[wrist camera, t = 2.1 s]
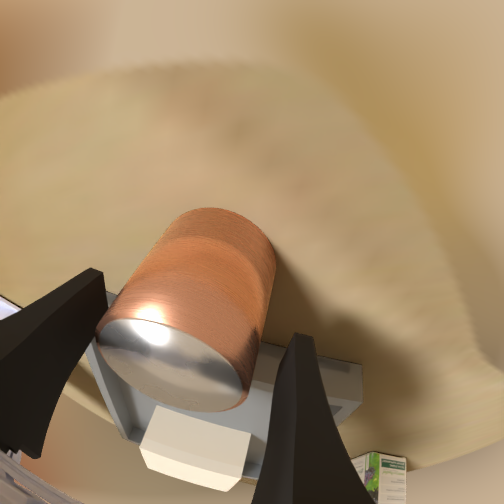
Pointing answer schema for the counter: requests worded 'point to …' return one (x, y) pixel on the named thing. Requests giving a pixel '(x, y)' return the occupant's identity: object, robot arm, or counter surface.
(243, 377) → the tin can
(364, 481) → the syrup box
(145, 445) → the plain cream box
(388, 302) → the counter surface
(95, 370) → the tray
